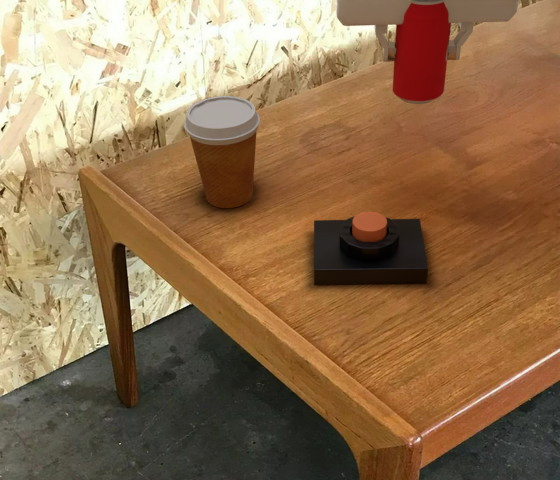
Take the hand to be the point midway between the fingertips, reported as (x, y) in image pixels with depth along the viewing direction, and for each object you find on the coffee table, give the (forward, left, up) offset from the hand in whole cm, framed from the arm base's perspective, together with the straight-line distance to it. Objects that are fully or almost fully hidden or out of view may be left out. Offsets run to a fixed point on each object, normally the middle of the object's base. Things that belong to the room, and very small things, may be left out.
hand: (420, 59), depth 94 cm
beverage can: (0, 0, -5) cm, 5 cm away
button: (+6, +16, -14) cm, 22 cm away
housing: (+6, +16, -17) cm, 24 cm away
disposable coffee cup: (+24, +1, -18) cm, 30 cm away
